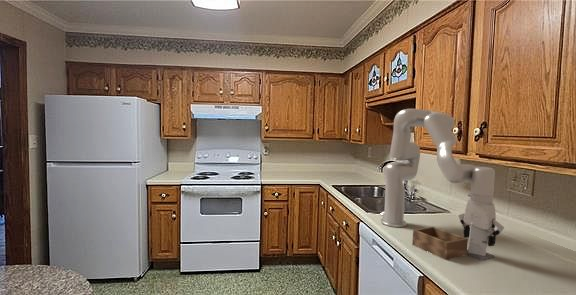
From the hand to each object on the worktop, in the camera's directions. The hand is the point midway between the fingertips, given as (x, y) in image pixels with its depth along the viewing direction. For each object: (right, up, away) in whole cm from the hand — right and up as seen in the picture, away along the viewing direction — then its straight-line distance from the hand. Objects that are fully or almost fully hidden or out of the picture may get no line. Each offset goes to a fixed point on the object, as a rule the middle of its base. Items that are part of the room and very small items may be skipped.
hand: (478, 241), depth 123 cm
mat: (0, -5, 0) cm, 5 cm away
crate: (-14, -5, +4) cm, 15 cm away
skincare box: (0, -5, +1) cm, 5 cm away
